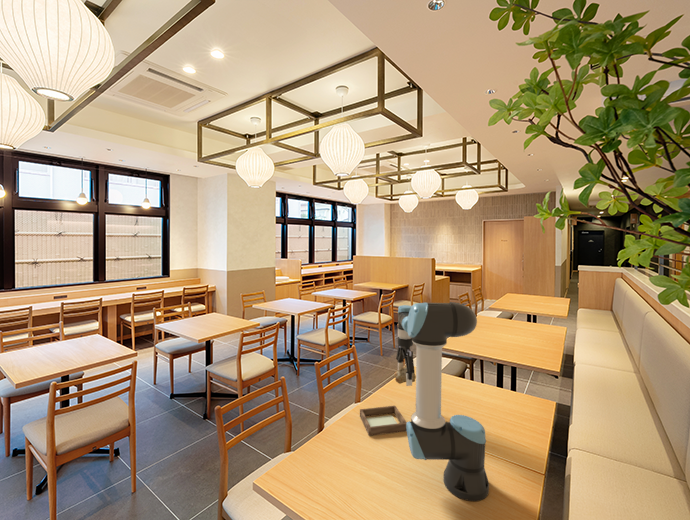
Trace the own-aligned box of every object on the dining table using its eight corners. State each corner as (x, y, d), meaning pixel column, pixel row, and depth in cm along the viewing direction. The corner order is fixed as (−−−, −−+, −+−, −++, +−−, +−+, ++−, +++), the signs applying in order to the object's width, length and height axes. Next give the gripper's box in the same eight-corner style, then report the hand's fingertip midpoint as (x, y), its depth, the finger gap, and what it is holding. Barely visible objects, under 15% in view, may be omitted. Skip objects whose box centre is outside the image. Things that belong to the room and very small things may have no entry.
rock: (416, 388, 160) (417, 368, 160) (395, 388, 161) (395, 367, 160) (412, 377, 172) (413, 359, 172) (392, 377, 173) (392, 358, 172)
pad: (400, 428, 152) (400, 427, 152) (372, 431, 149) (372, 431, 149) (391, 415, 162) (391, 414, 162) (366, 418, 160) (366, 417, 160)
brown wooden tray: (407, 431, 150) (407, 423, 150) (368, 435, 146) (368, 428, 146) (395, 412, 165) (395, 405, 165) (359, 416, 162) (359, 409, 161)
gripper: (422, 344, 153) (421, 390, 155) (404, 329, 177) (403, 370, 178) (407, 345, 152) (406, 391, 154) (390, 330, 175) (389, 371, 177)
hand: (404, 380), depth 166 cm, fingers closed on rock, 11 cm apart
